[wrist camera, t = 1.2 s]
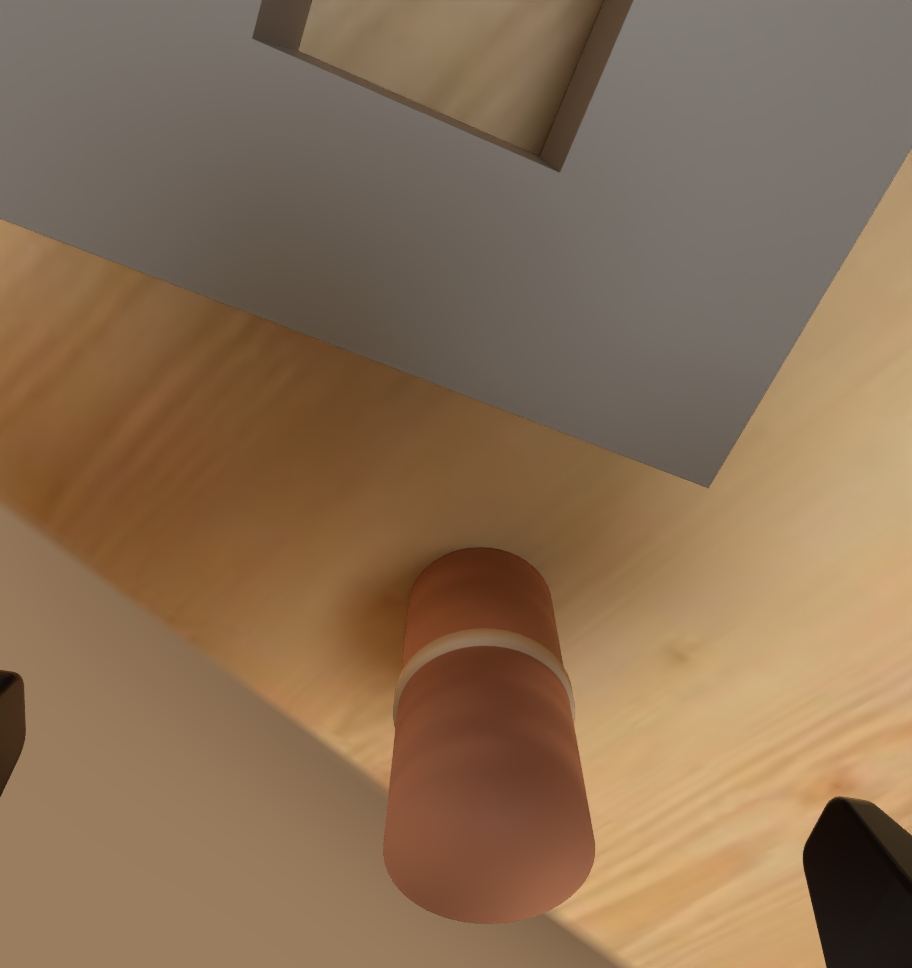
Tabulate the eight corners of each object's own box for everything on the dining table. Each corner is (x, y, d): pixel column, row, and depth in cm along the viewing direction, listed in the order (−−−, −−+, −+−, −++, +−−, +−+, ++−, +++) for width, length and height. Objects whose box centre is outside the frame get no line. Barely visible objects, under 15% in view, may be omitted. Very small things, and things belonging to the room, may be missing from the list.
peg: (581, 574, 22) (639, 809, 15) (519, 687, 24) (544, 947, 16) (437, 523, 21) (425, 743, 14) (383, 644, 23) (348, 895, 16)
